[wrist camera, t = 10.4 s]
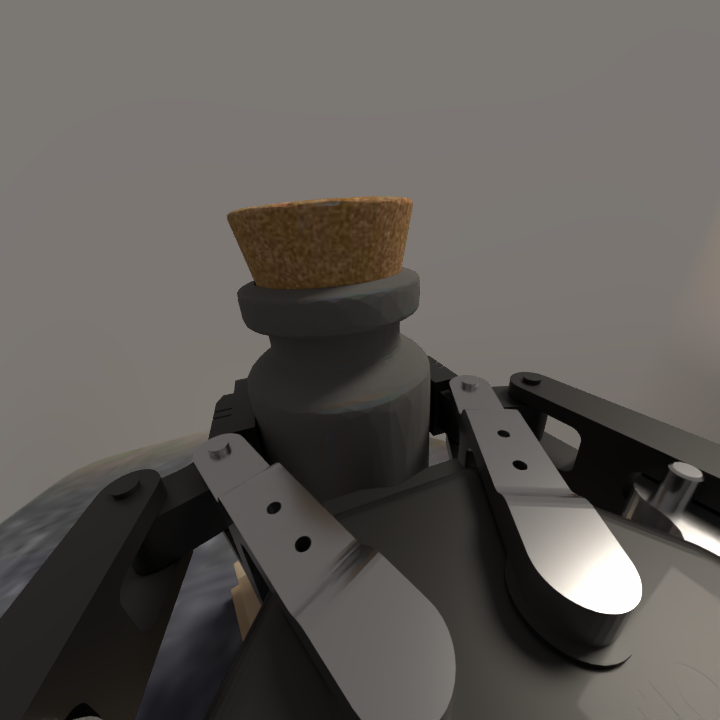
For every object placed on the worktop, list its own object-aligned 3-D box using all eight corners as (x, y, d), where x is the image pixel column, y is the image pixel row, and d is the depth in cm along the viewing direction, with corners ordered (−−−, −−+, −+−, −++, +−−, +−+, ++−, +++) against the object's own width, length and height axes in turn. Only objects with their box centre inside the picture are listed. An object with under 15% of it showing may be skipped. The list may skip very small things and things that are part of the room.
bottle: (398, 495, 17) (390, 206, 11) (449, 612, 12) (491, 184, 6) (297, 523, 16) (222, 219, 10) (304, 663, 11) (154, 204, 4)
